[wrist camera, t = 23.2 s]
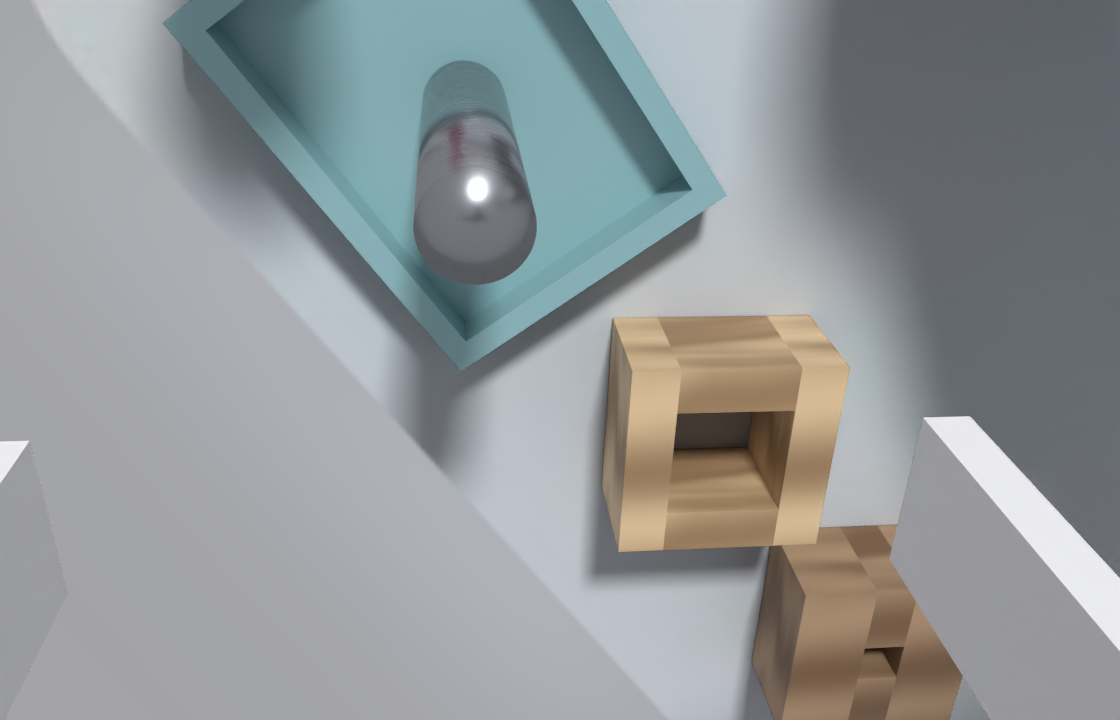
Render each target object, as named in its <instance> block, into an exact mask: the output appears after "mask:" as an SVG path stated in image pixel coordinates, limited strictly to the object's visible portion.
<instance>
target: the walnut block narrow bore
mask: <svg viewBox="0 0 1120 720" xmlns="http://www.w3.org/2000/svg"><path fill="white" fill-rule="evenodd" d="M896 529H897V525H879V526H853V527H827V528H819V531H818V536H817V541H816V544H801V545H777V546H771V549H770V555H769V561H768V567H767V573H766V579H765V585H764V591H763V597H762V603H761V609H760V615H759V621H758V627H757V633H756V639H755V645H754V651H753V657H752V664H753V666H754V669H755V671H756V674H757V677H758V679H759V682H760V685H761V687H762V690H763V692H764V695H765V698H766V700H767V703H768V706H769V708H770V711H771V713H772V716H773V719H774V720H949V719H950V716H951V712H952V709H953V706H954V702H955V699H956V696H957V693H958V689H959V686H960V683H961V679H962V676H963V675H962V674H961V672H960V671H959V669H958V667H957V666H956V664H955V663H954V661H953V660H952V658H951V656H950V655H949V653H948V652H947V650H946V648H945V647H944V645H943V644H942V642H941V640H940V639H939V637H938V636H937V634H936V632H935V631H934V629H933V628H932V626H931V624H930V623H929V621H928V620H927V618H926V617H925V615H924V613H923V612H922V610H921V609H920V607H919V605H918V604H917V602H916V601H915V599H914V597H913V596H912V594H911V593H910V591H909V589H908V588H907V586H906V585H905V583H904V581H903V580H902V578H901V577H900V575H899V574H898V572H897V570H896V569H895V567H894V566H893V564H892V562H891V561H890V559H889V558H890V554H891V550H892V546H893V541H894V537H895V533H896Z"/></svg>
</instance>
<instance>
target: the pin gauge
mask: <svg viewBox="0 0 1120 720" xmlns="http://www.w3.org/2000/svg"><path fill="white" fill-rule="evenodd" d="M413 231H414V238H415V242H416V245H417V247H418V250H419V252H420V254H421V255H422V257H423V258H424V260H425V261H426V262H427V264H428V265H429V266H430V267H431V268H432V269H433V270H435V271H436V272H437V273H438V274H440V275H442V276H443V277H445V278H447V279H450V280H452V281H455V282H458V283H462V284H469V285H481V284H488V283H492V282H496V281H499V280H501V279H503V278H505V277H507V276H509V275H510V274H512V273H513V272H514V271H516V270H517V269H518V268H519V267H520V266H521V265H522V264H523V263H524V261H525V260H526V259H527V257H528V256H529V254H530V252H531V250H532V248H533V245H534V243H535V238H536V232H537V220H536V214H535V210H534V206H533V202H532V198H531V194H530V190H529V186H528V182H527V178H526V174H525V170H524V166H523V163H522V159H521V155H520V151H519V147H518V143H517V139H516V135H515V131H514V127H513V123H512V119H511V115H510V111H509V107H508V103H507V99H506V95H505V92H504V89H503V86H502V84H501V82H500V81H499V79H498V78H497V76H496V75H495V74H494V73H493V72H492V71H491V70H490V69H488V68H487V67H485V66H483V65H482V64H479V63H476V62H473V61H466V60H462V61H454V62H451V63H448V64H446V65H444V66H442V67H441V68H439V69H438V70H437V71H436V72H434V74H433V75H432V76H431V77H430V79H429V80H428V82H427V84H426V86H425V89H424V93H423V102H422V115H421V128H420V141H419V155H418V168H417V181H416V194H415V207H414V221H413Z"/></svg>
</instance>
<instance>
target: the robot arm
mask: <svg viewBox="0 0 1120 720" xmlns="http://www.w3.org/2000/svg"><path fill="white" fill-rule="evenodd" d="M889 559H890V561H891V562H892V564H893V566H894V567H895V569H896V570H897V572H898V574H899V575H900V577H901V578H902V580H903V581H904V583H905V585H906V586H907V588H908V589H909V591H910V593H911V594H912V596H913V597H914V599H915V601H916V602H917V604H918V605H919V607H920V609H921V610H922V612H923V613H924V615H925V617H926V618H927V620H928V621H929V623H930V624H931V626H932V628H933V629H934V631H935V632H936V634H937V636H938V637H939V639H940V640H941V642H942V644H943V645H944V647H945V648H946V650H947V652H948V653H949V655H950V656H951V658H952V660H953V661H954V663H955V664H956V666H957V667H958V669H959V671H960V672H961V674H962V675H963V677H964V679H965V680H966V682H967V683H968V685H969V687H970V688H971V690H972V691H973V693H974V695H975V696H976V698H977V699H978V701H979V703H980V704H981V706H982V707H983V709H984V710H985V712H986V714H987V715H988V717H989V718H990V720H1120V578H1119V577H1118V576H1117V575H1116V574H1115V572H1114V571H1113V570H1112V569H1111V568H1110V567H1109V566H1108V565H1107V564H1106V563H1105V562H1104V561H1103V559H1102V558H1101V557H1100V556H1099V555H1098V554H1097V553H1096V552H1095V551H1094V550H1093V549H1092V548H1091V547H1090V545H1089V544H1088V543H1087V542H1086V541H1085V540H1084V539H1083V538H1082V537H1081V536H1080V535H1079V534H1078V532H1077V531H1076V530H1075V529H1074V528H1073V527H1072V526H1071V525H1070V524H1069V523H1068V522H1067V521H1066V520H1065V518H1064V517H1063V516H1062V515H1061V514H1060V513H1059V512H1058V511H1057V510H1056V509H1055V508H1054V507H1053V505H1052V504H1051V503H1050V502H1049V501H1048V500H1047V499H1046V498H1045V497H1044V496H1043V495H1042V494H1041V493H1040V491H1039V490H1038V489H1037V488H1036V487H1035V486H1034V485H1033V484H1032V483H1031V482H1030V481H1029V480H1028V478H1027V477H1026V476H1025V475H1024V474H1023V473H1022V472H1021V471H1020V470H1019V469H1018V468H1017V467H1016V466H1015V464H1014V463H1013V462H1012V461H1011V460H1010V459H1009V458H1008V457H1007V456H1006V455H1005V454H1004V453H1003V451H1002V450H1001V449H1000V448H999V447H998V446H997V445H996V444H995V443H994V442H993V441H992V440H991V439H990V437H989V436H988V435H987V434H986V433H985V432H984V431H983V430H982V429H981V428H980V427H979V426H978V424H977V423H976V422H975V421H974V420H973V419H972V418H971V417H970V416H962V417H923V420H922V424H921V428H920V432H919V436H918V441H917V445H916V449H915V453H914V457H913V462H912V466H911V470H910V474H909V478H908V483H907V487H906V491H905V495H904V499H903V504H902V508H901V512H900V516H899V520H898V525H897V529H896V533H895V537H894V541H893V546H892V550H891V554H890V558H889ZM67 595H68V591H67V588H66V583H65V579H64V576H63V572H62V568H61V564H60V560H59V556H58V552H57V548H56V544H55V540H54V536H53V532H52V528H51V524H50V520H49V516H48V512H47V508H46V504H45V500H44V496H43V492H42V488H41V484H40V480H39V476H38V472H37V468H36V465H35V460H34V457H33V452H32V449H31V445H30V441H9V442H0V720H6V718H7V716H8V714H9V712H10V710H11V708H12V706H13V704H14V702H15V700H16V698H17V696H18V694H19V692H20V690H21V688H22V686H23V684H24V681H25V680H26V677H27V676H28V674H29V672H30V669H31V668H32V666H33V663H34V662H35V659H36V658H37V656H38V654H39V652H40V650H41V648H42V645H43V643H44V642H45V640H46V638H47V636H48V633H49V631H50V629H51V627H52V625H53V624H54V621H55V619H56V617H57V615H58V613H59V611H60V609H61V607H62V605H63V603H64V601H65V599H66V597H67Z"/></svg>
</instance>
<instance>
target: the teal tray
mask: <svg viewBox="0 0 1120 720" xmlns="http://www.w3.org/2000/svg"><path fill="white" fill-rule="evenodd" d="M163 24H164V26H165V27H166V28H167V29H168V30H169V31H170V33H171V34H172V35H173V36H174V37H175V38H176V40H177V41H178V42H179V43H180V44H181V45H182V47H183V48H184V49H185V50H186V51H187V52H188V54H189V55H190V56H191V57H192V58H193V59H194V61H195V62H196V63H197V64H198V65H199V66H200V68H201V69H202V70H203V71H204V72H205V73H206V75H207V76H208V77H209V78H210V79H211V80H212V82H213V83H214V84H215V85H216V86H217V87H218V89H219V90H220V91H221V92H222V93H223V94H224V96H225V97H226V98H227V99H228V100H229V101H230V103H231V104H232V105H233V106H234V107H235V108H236V110H237V111H238V112H239V113H240V114H241V116H242V117H243V118H244V119H245V120H246V121H247V123H248V124H249V125H250V126H251V127H252V128H253V130H254V131H255V132H256V133H257V134H258V135H259V137H260V138H261V139H262V140H263V141H264V142H265V144H266V145H267V146H268V147H269V148H270V149H271V151H272V152H273V153H274V154H275V155H276V156H277V158H278V159H279V160H280V161H281V162H282V163H283V165H284V166H285V167H286V168H287V169H288V170H289V172H290V173H291V174H292V175H293V176H294V177H295V179H296V180H297V181H298V182H299V183H300V184H301V186H302V187H303V188H304V189H305V190H306V191H307V193H308V194H309V195H310V196H311V197H312V198H313V200H314V201H315V202H316V203H317V204H318V205H319V207H320V208H321V209H322V210H323V211H324V213H325V214H326V215H327V216H328V217H329V218H330V220H331V221H332V222H333V223H334V224H335V225H336V227H337V228H338V229H339V230H340V231H341V232H342V234H343V235H344V236H345V237H346V238H347V239H348V241H349V242H350V243H351V244H352V245H353V246H354V248H355V249H356V250H357V251H358V252H359V253H360V255H361V256H362V257H363V258H364V259H365V260H366V262H367V263H368V264H369V265H370V266H371V267H372V269H373V270H374V271H375V272H376V273H377V274H378V276H379V277H380V278H381V279H382V280H383V281H384V283H385V284H386V285H387V286H388V287H389V288H390V290H391V291H392V292H393V293H394V294H395V295H396V297H397V298H398V299H399V300H400V301H401V302H402V304H403V305H404V306H405V307H406V308H407V310H408V311H409V312H410V313H411V314H412V315H413V317H414V318H415V319H416V320H417V321H418V322H419V324H420V325H421V326H422V327H423V328H424V329H425V331H426V332H427V333H428V334H429V335H430V336H431V338H432V339H433V340H434V341H435V342H436V343H437V345H438V346H439V347H440V348H441V349H442V350H443V352H444V353H445V354H446V355H447V356H448V357H449V359H450V360H451V361H452V362H453V363H454V364H455V366H456V367H457V368H458V369H459V370H460V371H463V370H464V369H466V368H467V367H469V366H470V365H472V364H473V363H475V362H476V361H478V360H479V359H481V358H482V357H484V356H485V355H487V354H488V353H490V352H491V351H493V350H494V349H496V348H497V347H499V346H500V345H502V344H503V343H505V342H506V341H508V340H509V339H511V338H512V337H514V336H515V335H517V334H518V333H520V332H521V331H523V330H524V329H526V328H527V327H529V326H530V325H532V324H533V323H535V322H536V321H538V320H539V319H541V318H543V317H544V316H546V315H547V314H549V313H550V312H552V311H553V310H555V309H556V308H558V307H559V306H561V305H562V304H564V303H565V302H567V301H568V300H570V299H571V298H573V297H574V296H576V295H577V294H579V293H580V292H582V291H583V290H585V289H586V288H588V287H589V286H591V285H592V284H594V283H595V282H597V281H598V280H600V279H601V278H603V277H604V276H606V275H607V274H609V273H610V272H612V271H613V270H615V269H616V268H618V267H619V266H621V265H622V264H624V263H626V262H627V261H629V260H630V259H632V258H633V257H635V256H636V255H638V254H639V253H641V252H642V251H644V250H645V249H647V248H648V247H650V246H651V245H653V244H654V243H656V242H657V241H659V240H660V239H662V238H663V237H665V236H666V235H668V234H669V233H671V232H672V231H674V230H675V229H677V228H678V227H680V226H681V225H683V224H684V223H686V222H687V221H689V220H690V219H692V218H693V217H695V216H696V215H698V214H699V213H701V212H702V211H704V210H705V209H707V208H708V207H710V206H712V205H713V204H715V203H716V202H718V201H719V200H721V199H722V198H724V197H725V196H727V195H726V193H725V192H724V190H723V189H722V187H721V185H720V184H719V182H718V180H717V179H716V177H715V176H714V174H713V172H712V171H711V169H710V168H709V166H708V164H707V163H706V161H705V159H704V158H703V156H702V155H701V153H700V151H699V150H698V148H697V146H696V145H695V143H694V142H693V140H692V138H691V137H690V135H689V134H688V132H687V130H686V129H685V127H684V125H683V124H682V122H681V121H680V119H679V117H678V116H677V114H676V112H675V111H674V109H673V108H672V106H671V104H670V103H669V101H668V100H667V98H666V96H665V95H664V93H663V91H662V90H661V88H660V87H659V85H658V83H657V82H656V80H655V78H654V77H653V75H652V74H651V72H650V70H649V69H648V67H647V66H646V64H645V62H644V61H643V59H642V57H641V56H640V54H639V53H638V51H637V49H636V48H635V46H634V44H633V43H632V41H631V40H630V38H629V36H628V35H627V33H626V32H625V30H624V28H623V27H622V25H621V23H620V22H619V20H618V19H617V17H616V15H615V14H614V12H613V10H612V9H611V7H610V6H609V4H608V2H607V1H606V0H191V1H190V2H188V3H187V4H186V5H185V6H183V7H182V8H181V9H180V10H178V11H177V12H176V13H175V14H173V15H172V16H171V17H170V18H168V19H167V20H166V21H165V22H163ZM462 60H466V61H473V62H476V63H479V64H482V65H483V66H485V67H487V68H488V69H490V70H491V71H492V72H493V73H494V74H495V75H496V76H497V78H498V79H499V81H500V82H501V84H502V86H503V89H504V92H505V95H506V99H507V103H508V107H509V111H510V115H511V119H512V123H513V127H514V131H515V135H516V139H517V143H518V147H519V151H520V155H521V159H522V163H523V166H524V170H525V174H526V178H527V182H528V186H529V190H530V194H531V198H532V202H533V206H534V210H535V214H536V220H537V232H536V238H535V243H534V245H533V248H532V250H531V252H530V254H529V256H528V257H527V259H526V260H525V261H524V263H523V264H522V265H521V266H520V267H519V268H518V269H517V270H516V271H514V272H513V273H512V274H510V275H509V276H507V277H505V278H503V279H501V280H499V281H496V282H492V283H488V284H481V285H469V284H462V283H458V282H455V281H452V280H450V279H447V278H445V277H443V276H442V275H440V274H438V273H437V272H436V271H435V270H433V269H432V268H431V267H430V266H429V265H428V264H427V262H426V261H425V260H424V258H423V257H422V255H421V254H420V252H419V250H418V247H417V245H416V242H415V238H414V231H413V221H414V207H415V194H416V181H417V168H418V155H419V141H420V128H421V115H422V102H423V93H424V89H425V86H426V84H427V82H428V80H429V79H430V77H431V76H432V75H433V74H434V72H436V71H437V70H438V69H439V68H441V67H442V66H444V65H446V64H448V63H451V62H454V61H462Z"/></svg>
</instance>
